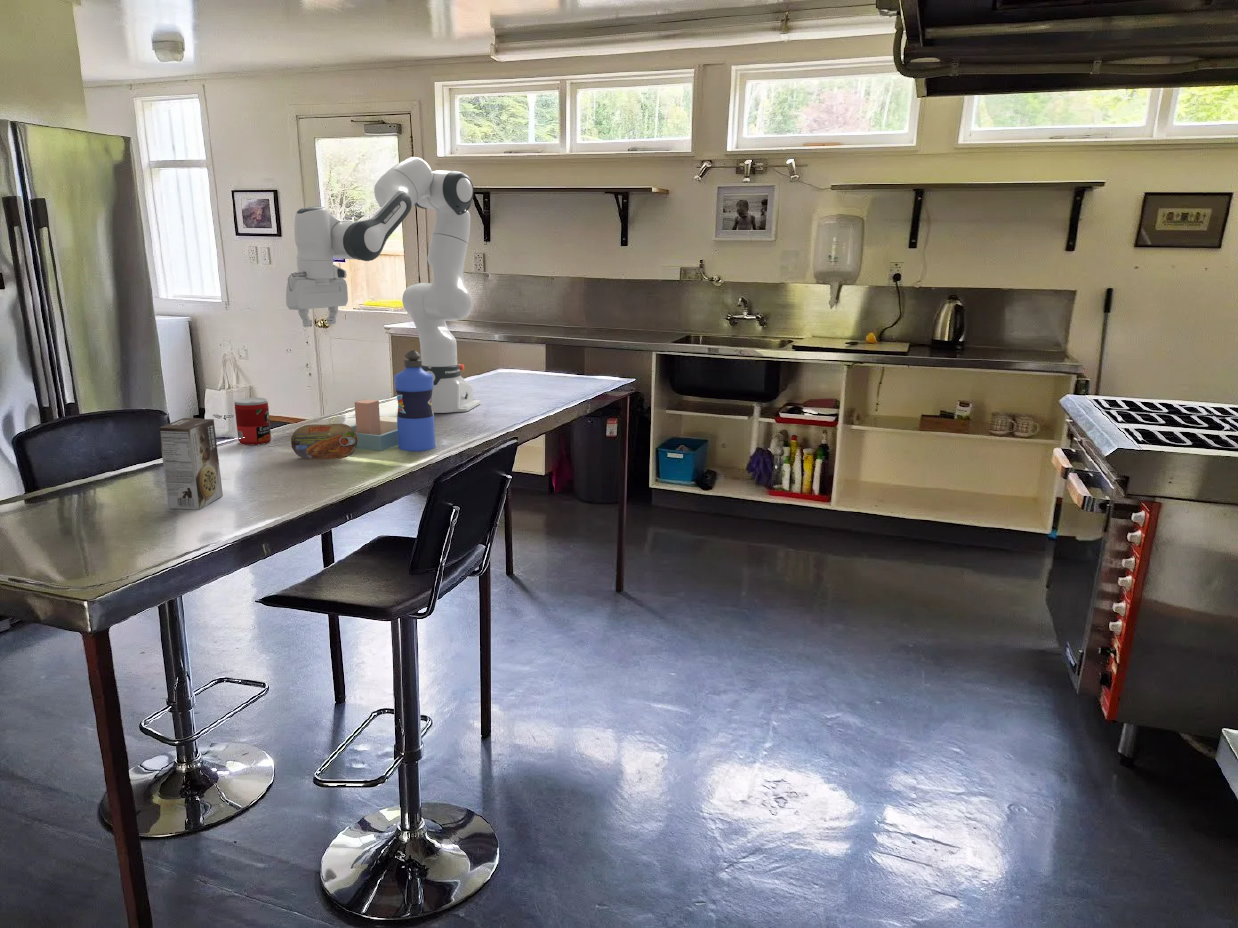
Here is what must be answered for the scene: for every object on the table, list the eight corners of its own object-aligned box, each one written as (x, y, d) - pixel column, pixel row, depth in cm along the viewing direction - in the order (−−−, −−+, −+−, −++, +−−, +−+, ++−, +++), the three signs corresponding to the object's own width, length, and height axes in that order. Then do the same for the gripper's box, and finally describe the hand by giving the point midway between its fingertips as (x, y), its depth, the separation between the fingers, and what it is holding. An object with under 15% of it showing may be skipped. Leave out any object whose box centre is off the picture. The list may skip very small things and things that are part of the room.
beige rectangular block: (379, 434, 217) (378, 415, 215) (408, 437, 214) (407, 418, 213) (367, 437, 212) (366, 419, 211) (397, 441, 209) (396, 422, 208)
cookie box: (192, 495, 164) (183, 417, 160) (224, 496, 164) (215, 418, 159) (167, 509, 155) (156, 427, 151) (200, 510, 155) (190, 427, 151)
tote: (377, 434, 220) (376, 418, 219) (421, 439, 216) (420, 422, 214) (334, 448, 203) (332, 431, 202) (381, 454, 199) (380, 436, 198)
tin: (292, 460, 192) (289, 425, 190) (294, 457, 195) (291, 423, 193) (358, 458, 195) (356, 424, 193) (359, 455, 198) (357, 421, 196)
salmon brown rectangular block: (367, 441, 208) (365, 399, 206) (381, 442, 207) (378, 400, 204) (357, 444, 204) (354, 402, 202) (370, 446, 203) (368, 403, 200)
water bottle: (401, 455, 198) (396, 353, 191) (395, 447, 206) (390, 349, 200) (439, 452, 202) (435, 352, 195) (431, 444, 210) (427, 348, 203)
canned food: (263, 445, 205) (259, 403, 202) (232, 445, 205) (228, 402, 202) (276, 439, 212) (273, 397, 210) (246, 438, 213) (242, 397, 210)
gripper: (298, 272, 199) (302, 329, 202) (350, 271, 218) (353, 323, 221) (277, 272, 201) (282, 328, 204) (331, 270, 220) (334, 322, 223)
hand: (319, 325), depth 213 cm, fingers open, 8 cm apart
